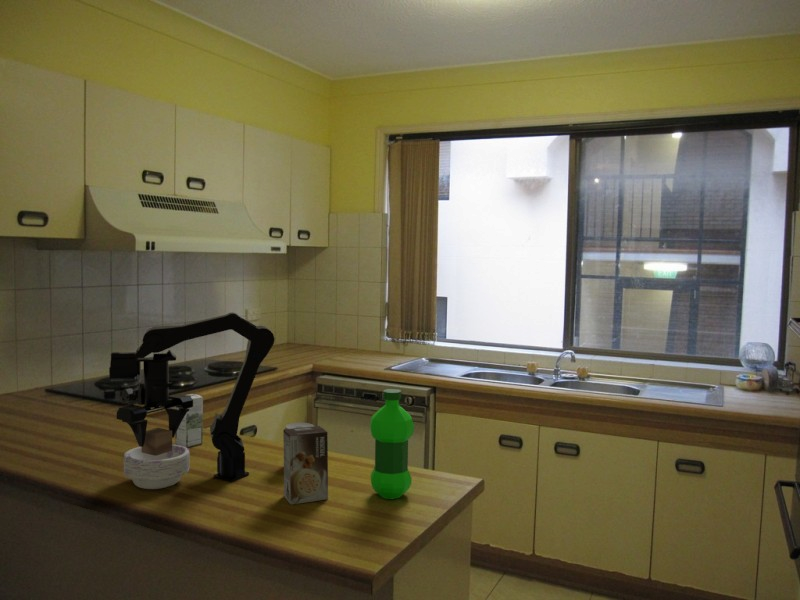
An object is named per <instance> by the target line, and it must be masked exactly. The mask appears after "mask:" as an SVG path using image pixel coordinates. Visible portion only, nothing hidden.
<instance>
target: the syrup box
mask: <svg viewBox="0 0 800 600" xmlns="http://www.w3.org/2000/svg"><path fill="white" fill-rule="evenodd" d="M187 395H188V396H191V398H192V399H193V407H191V408H187V409H189V411H188V412H187V413H186V415H185V416H184V418H183V420H182V422H181V424H180V426H179V428H178V430H177V432H176V434H175V436H174V438H175V439H174V443H175V444H174V445H180V446H183V447H186V448H191V447H195V446H199V445H203V443H204V442H203V432H204V430H203V427H204V425H203V424H204V420H203V419H204V418H203V417H204V409H203V408H204V397H203V396H202V395H199V394H195V393H190V394H187Z"/></svg>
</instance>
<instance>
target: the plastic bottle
mask: <svg viewBox="0 0 800 600" xmlns="http://www.w3.org/2000/svg"><path fill="white" fill-rule="evenodd" d="M382 397H383V399H384V400H385V404H384V405H383V406H381V408H379V409H377V411H376V412H374V413H373V414H372V416H371V418H370V421H369V428H370V432H371V436H372V438H373V439H374V446H375V447H374V468H373V469H372V471H371V473H370V483H371V487H372V489H373V490H374V492H375V493H377V494H378V495H379V497H381V498H383V499H387V500H394V499H399V498H401V497H402V495H404V494H405V493H406V492H407V491H409V489H410V488H411V486H412V476H411V472H410V470H409V466H408V465H409V463H408V462H409V440H410V439H411V438H412V436H413V434H414V429H415V423H414V421H413V418H412V415H411V414H410V413H409V412H407V411H406V410H405V409H404V408H403V407H402V406H401V405H400V400H402V390H401V389H398V388H396V389H395V388H386V389H384V390H383V396H382Z"/></svg>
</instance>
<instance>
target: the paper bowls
mask: <svg viewBox="0 0 800 600" xmlns="http://www.w3.org/2000/svg"><path fill="white" fill-rule="evenodd" d="M190 458H191V457H190V450H189V447H187V448H186V447H183V446H180V445H176V444H173V443H172V451H169V452H166V453H163V454H160V455H157V456H154V455H150V454H146V453H142V447H140V446H138V447H134V448H131V449H129V450H127V451H126V452H125V453H124V454H123V464H122V465H123V475H124V476H125V477H126V478H128V479H131V480H132V482H133V484H134V485H135V486H136V487H137V488H140V489H145V490H159V489H164V488H169V487H172V486H174V485H175V484H177V483H178V482H179V481H180V479H181V477H182V476H183V475H185V474H187V473H188V472H189V471H190V465H191V464H190Z"/></svg>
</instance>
